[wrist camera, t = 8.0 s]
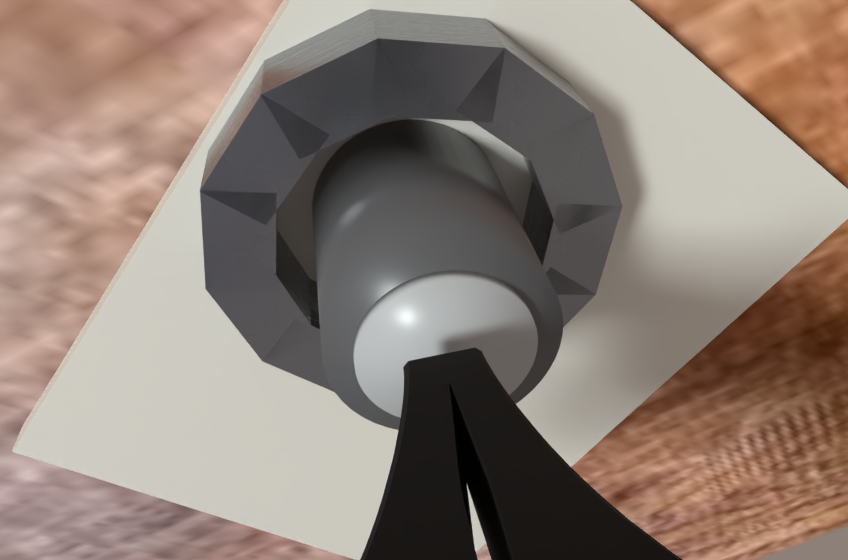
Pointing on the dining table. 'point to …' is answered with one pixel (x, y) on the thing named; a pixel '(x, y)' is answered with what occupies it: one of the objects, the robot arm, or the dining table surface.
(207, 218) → the grey faceted ring
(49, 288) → the dining table surface
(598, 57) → the board
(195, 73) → the dining table surface
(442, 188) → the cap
